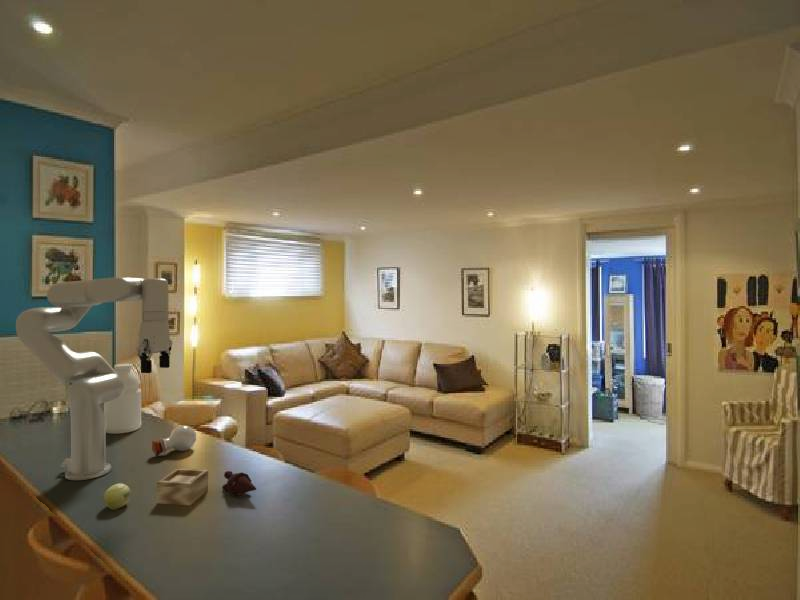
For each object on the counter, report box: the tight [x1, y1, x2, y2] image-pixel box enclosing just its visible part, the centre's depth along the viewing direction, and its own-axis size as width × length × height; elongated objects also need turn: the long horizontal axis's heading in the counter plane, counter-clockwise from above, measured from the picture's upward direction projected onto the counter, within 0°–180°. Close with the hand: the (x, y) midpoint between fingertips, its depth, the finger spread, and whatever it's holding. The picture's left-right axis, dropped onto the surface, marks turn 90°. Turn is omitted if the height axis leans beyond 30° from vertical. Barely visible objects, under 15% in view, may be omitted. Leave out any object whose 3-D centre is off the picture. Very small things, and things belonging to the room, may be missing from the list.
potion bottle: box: [151, 425, 197, 458], centre depth 172 cm, size 9×10×15 cm
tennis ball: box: [103, 483, 132, 511], centre depth 129 cm, size 6×7×7 cm
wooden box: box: [156, 468, 209, 506], centre depth 136 cm, size 10×10×6 cm
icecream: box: [221, 470, 257, 498], centre depth 137 cm, size 7×7×15 cm
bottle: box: [103, 363, 142, 435], centre depth 198 cm, size 14×14×28 cm
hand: (155, 370), depth 147 cm, fingers open, 9 cm apart
